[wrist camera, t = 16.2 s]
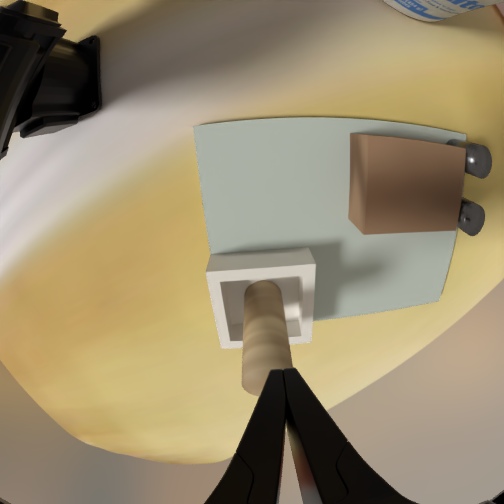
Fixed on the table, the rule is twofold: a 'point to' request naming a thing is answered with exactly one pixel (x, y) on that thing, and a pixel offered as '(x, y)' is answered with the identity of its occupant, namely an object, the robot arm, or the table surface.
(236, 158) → the mat
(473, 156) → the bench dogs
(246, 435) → the robot arm
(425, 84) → the table surface
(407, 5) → the supplement tub
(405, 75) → the table surface
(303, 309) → the tray
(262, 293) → the dowel
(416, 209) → the cardboard brown brick
